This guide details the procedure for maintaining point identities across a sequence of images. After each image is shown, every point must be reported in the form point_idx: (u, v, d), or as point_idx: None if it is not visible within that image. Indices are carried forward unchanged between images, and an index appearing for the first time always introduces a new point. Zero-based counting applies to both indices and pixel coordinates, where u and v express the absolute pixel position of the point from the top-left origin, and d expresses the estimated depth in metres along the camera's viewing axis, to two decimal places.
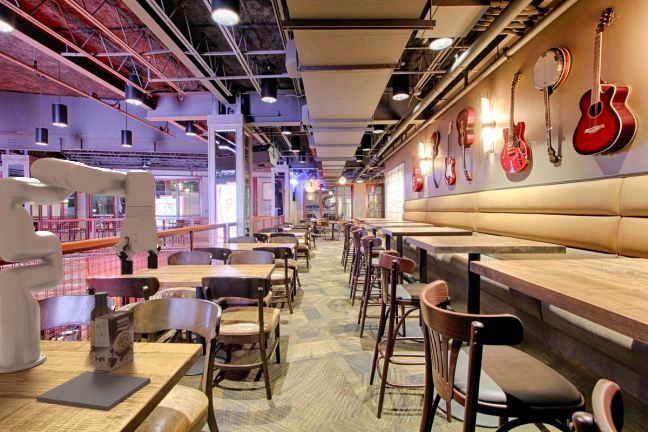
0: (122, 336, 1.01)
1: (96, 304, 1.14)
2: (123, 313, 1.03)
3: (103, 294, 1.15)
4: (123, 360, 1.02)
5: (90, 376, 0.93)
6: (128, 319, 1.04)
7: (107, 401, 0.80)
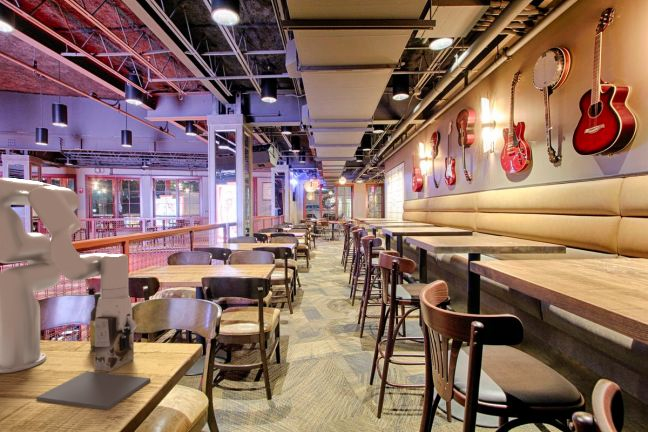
0: None
1: (96, 304, 1.14)
2: None
3: None
4: (123, 359, 1.02)
5: (90, 376, 0.93)
6: None
7: (107, 401, 0.80)
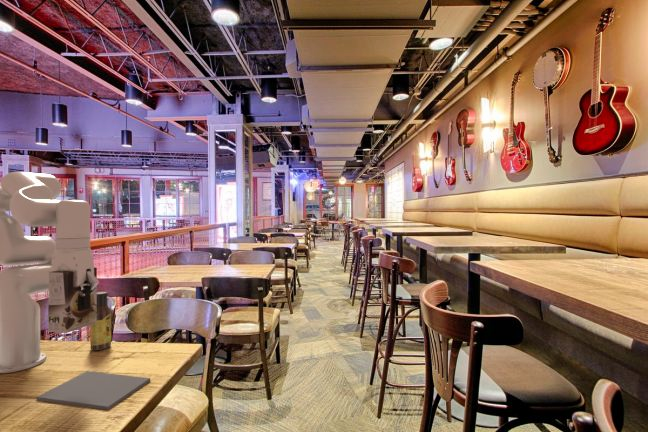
0: None
1: None
2: None
3: (103, 294, 1.15)
4: (83, 322, 0.88)
5: (90, 376, 0.93)
6: None
7: (107, 401, 0.80)
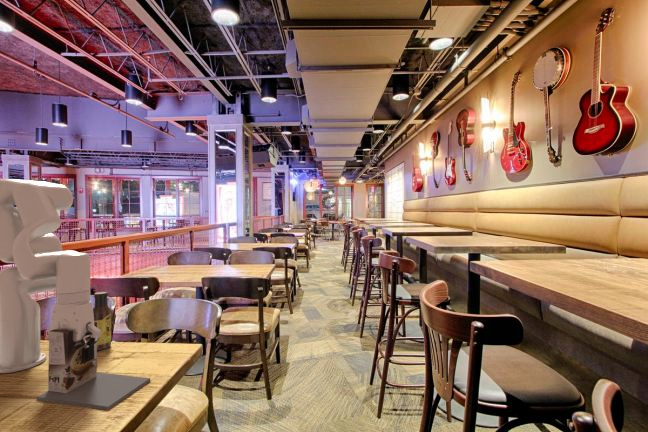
0: (81, 351, 0.87)
1: (96, 304, 1.14)
2: None
3: (103, 294, 1.15)
4: (83, 379, 0.88)
5: None
6: None
7: (107, 401, 0.80)
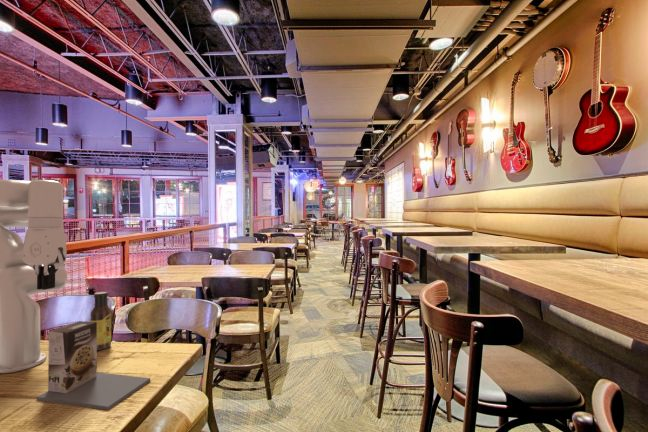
0: (81, 351, 0.87)
1: (96, 304, 1.14)
2: (83, 325, 0.89)
3: (103, 294, 1.15)
4: (83, 379, 0.88)
5: None
6: (89, 332, 0.90)
7: (107, 401, 0.80)
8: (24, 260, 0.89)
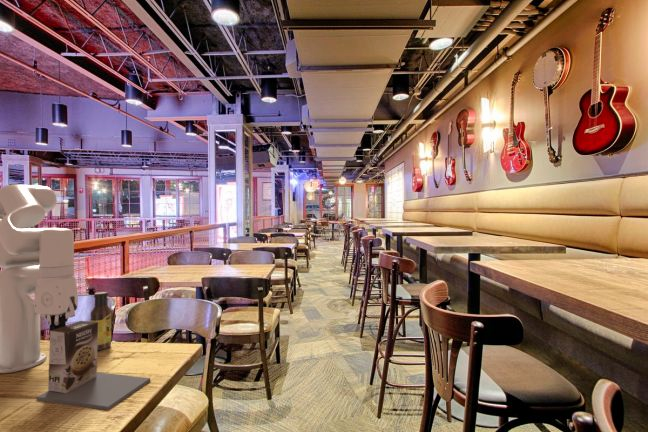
0: (82, 351, 0.87)
1: (96, 304, 1.14)
2: (85, 325, 0.89)
3: (103, 294, 1.15)
4: (83, 379, 0.88)
5: None
6: (91, 332, 0.90)
7: (107, 401, 0.80)
8: (35, 310, 0.88)
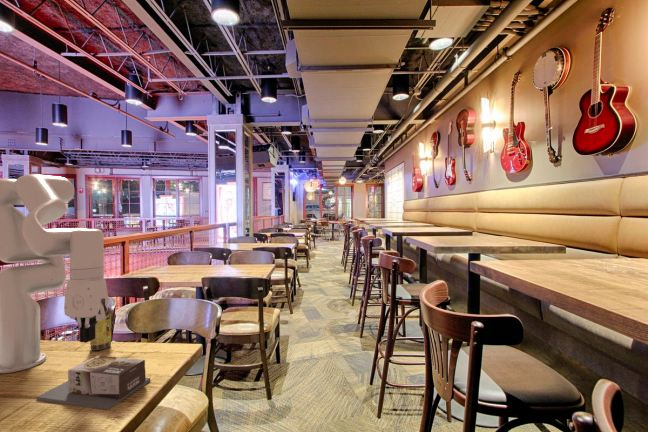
0: None
1: None
2: (136, 384, 0.86)
3: None
4: None
5: None
6: None
7: (107, 401, 0.80)
8: (66, 312, 0.86)
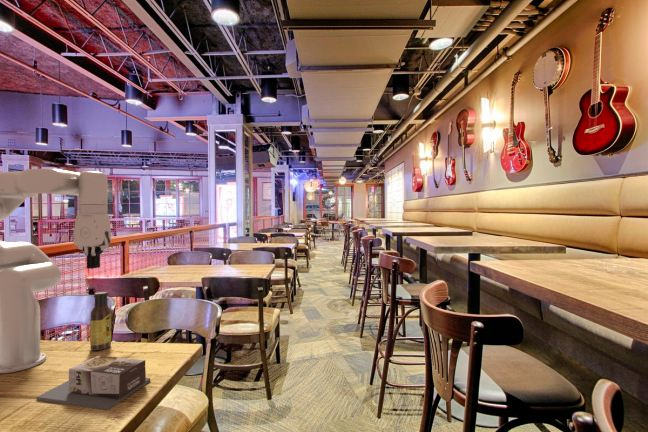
0: None
1: (96, 304, 1.14)
2: (136, 384, 0.86)
3: (103, 294, 1.15)
4: None
5: None
6: None
7: (107, 401, 0.80)
8: (75, 242, 1.00)
